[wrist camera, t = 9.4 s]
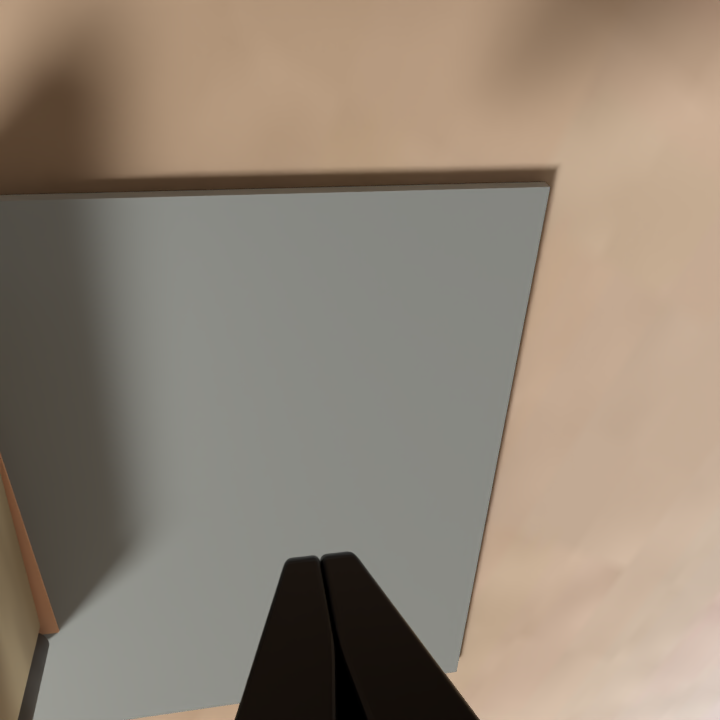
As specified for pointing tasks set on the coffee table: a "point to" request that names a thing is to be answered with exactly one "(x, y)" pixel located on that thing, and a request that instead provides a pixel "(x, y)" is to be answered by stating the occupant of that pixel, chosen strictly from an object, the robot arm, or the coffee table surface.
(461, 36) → the coffee table surface
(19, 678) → the fence gate
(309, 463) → the card
